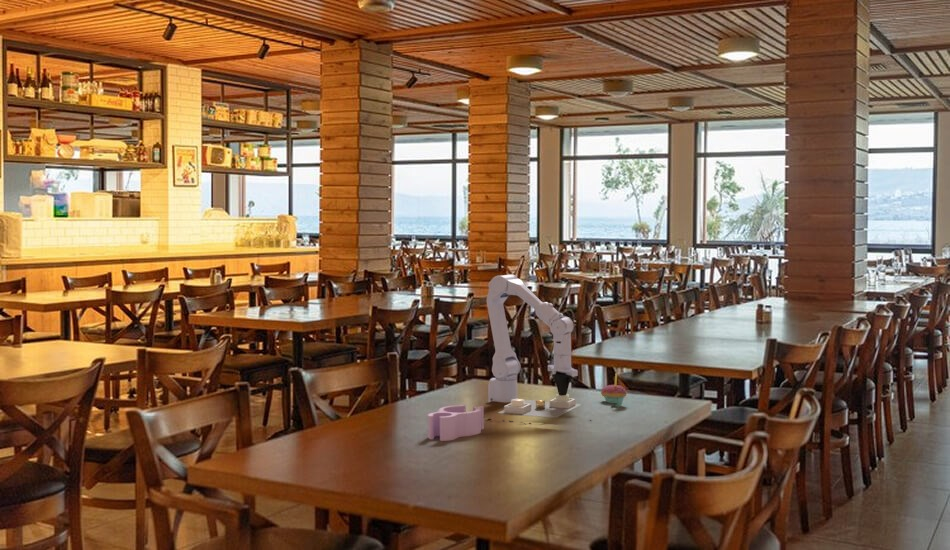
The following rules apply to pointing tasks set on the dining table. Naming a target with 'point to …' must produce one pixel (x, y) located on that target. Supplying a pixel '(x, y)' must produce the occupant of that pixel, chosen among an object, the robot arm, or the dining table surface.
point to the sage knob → (562, 397)
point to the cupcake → (614, 393)
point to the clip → (455, 422)
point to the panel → (551, 409)
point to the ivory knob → (518, 402)
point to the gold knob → (540, 404)
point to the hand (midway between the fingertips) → (562, 395)
